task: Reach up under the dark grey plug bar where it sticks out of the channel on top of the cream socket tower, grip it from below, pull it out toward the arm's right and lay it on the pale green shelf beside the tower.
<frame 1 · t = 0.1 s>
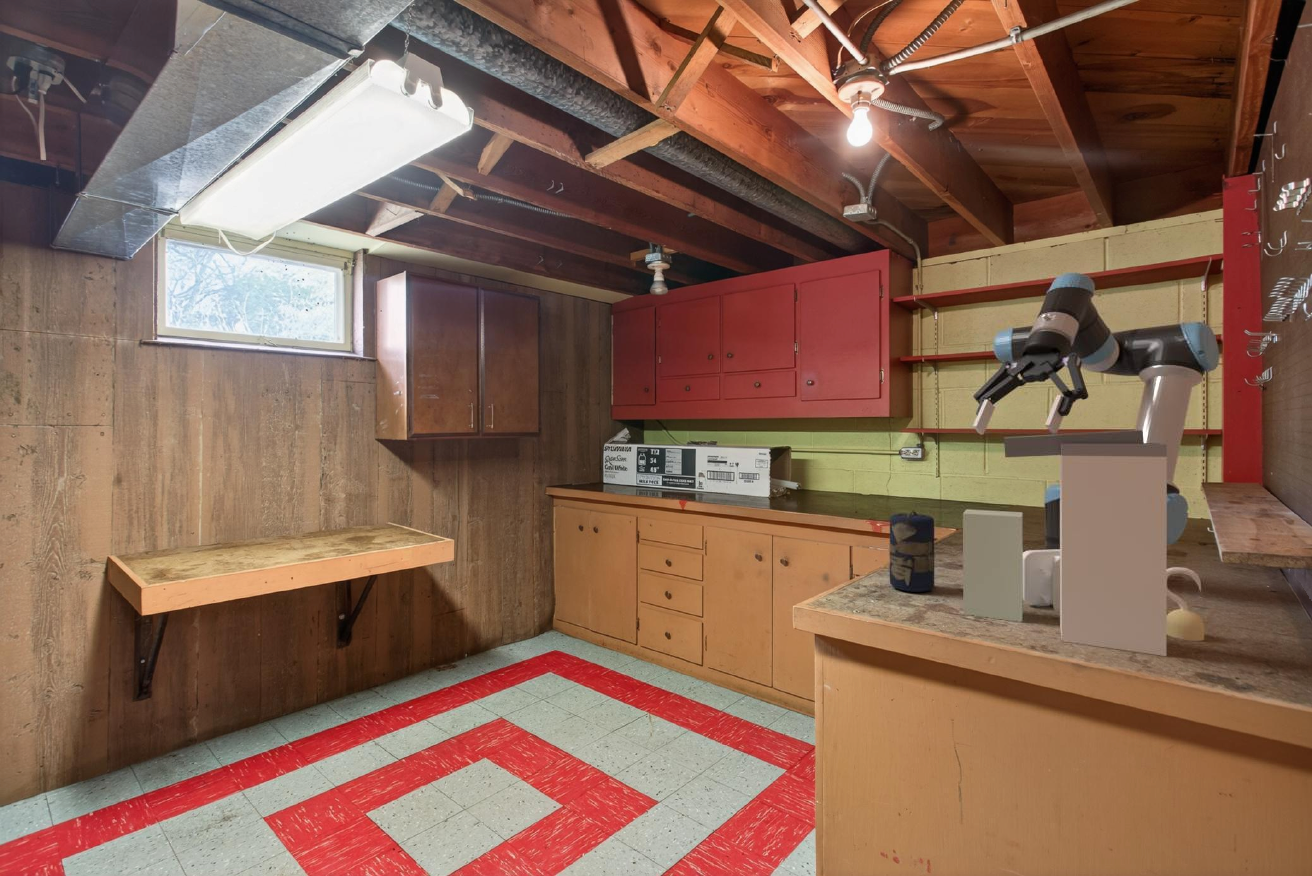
hand: (1012, 430, 114), 36 cm above the table, tool tilted 35°, fingers open, 13 cm apart
canister: (911, 589, 141), on the table
socket tower: (1109, 641, 105), on the table
hook: (1181, 636, 108), on the table
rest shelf: (993, 613, 122), on the table
plug bar: (1070, 453, 108), point 32 cm above the table, touching gripper, socket tower
cable organizer: (1069, 611, 123), on the table
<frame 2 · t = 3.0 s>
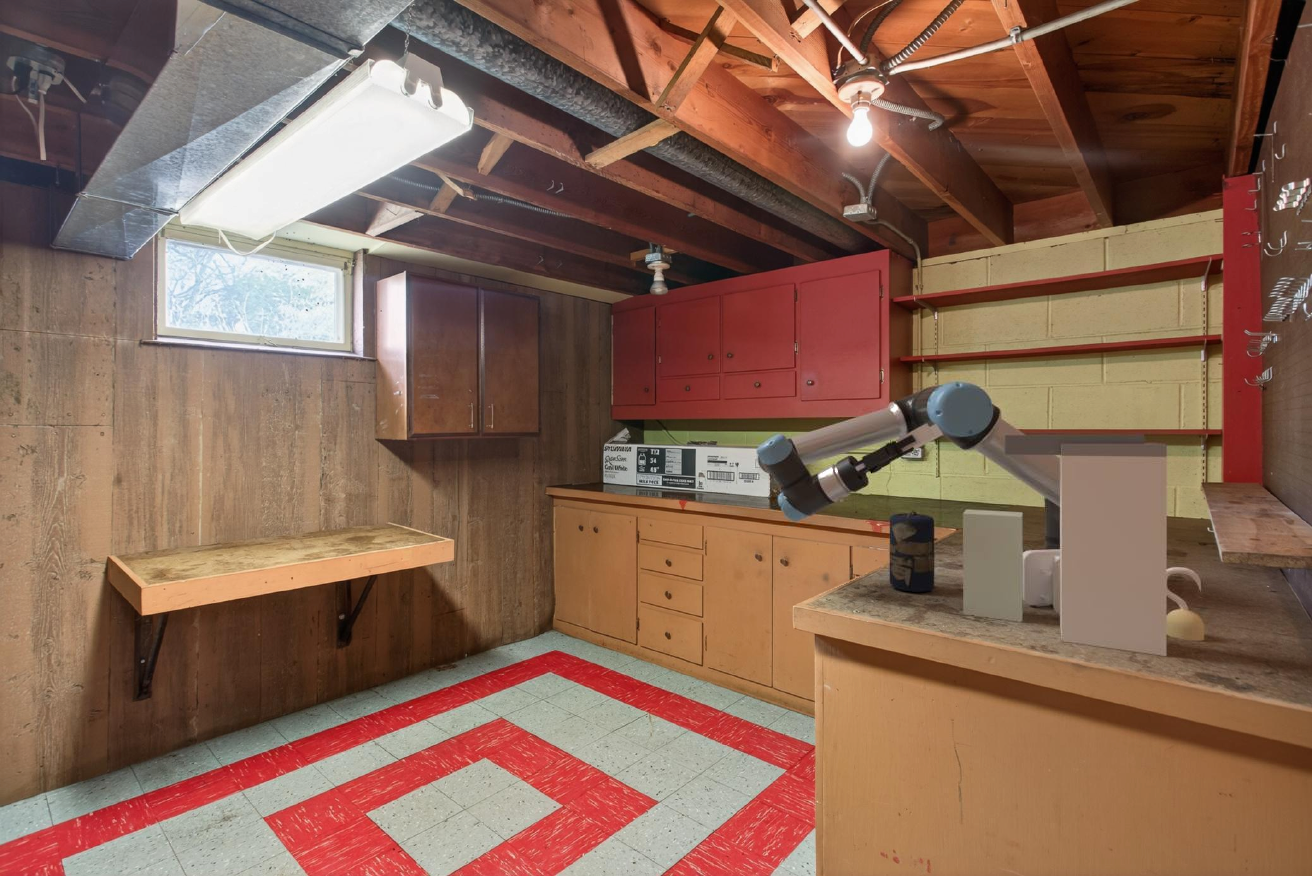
hand: (935, 428, 125), 37 cm above the table, tool pointing upward, fingers open, 13 cm apart
plug bar: (1071, 454, 108), point 32 cm above the table, touching socket tower
everything else where it was.
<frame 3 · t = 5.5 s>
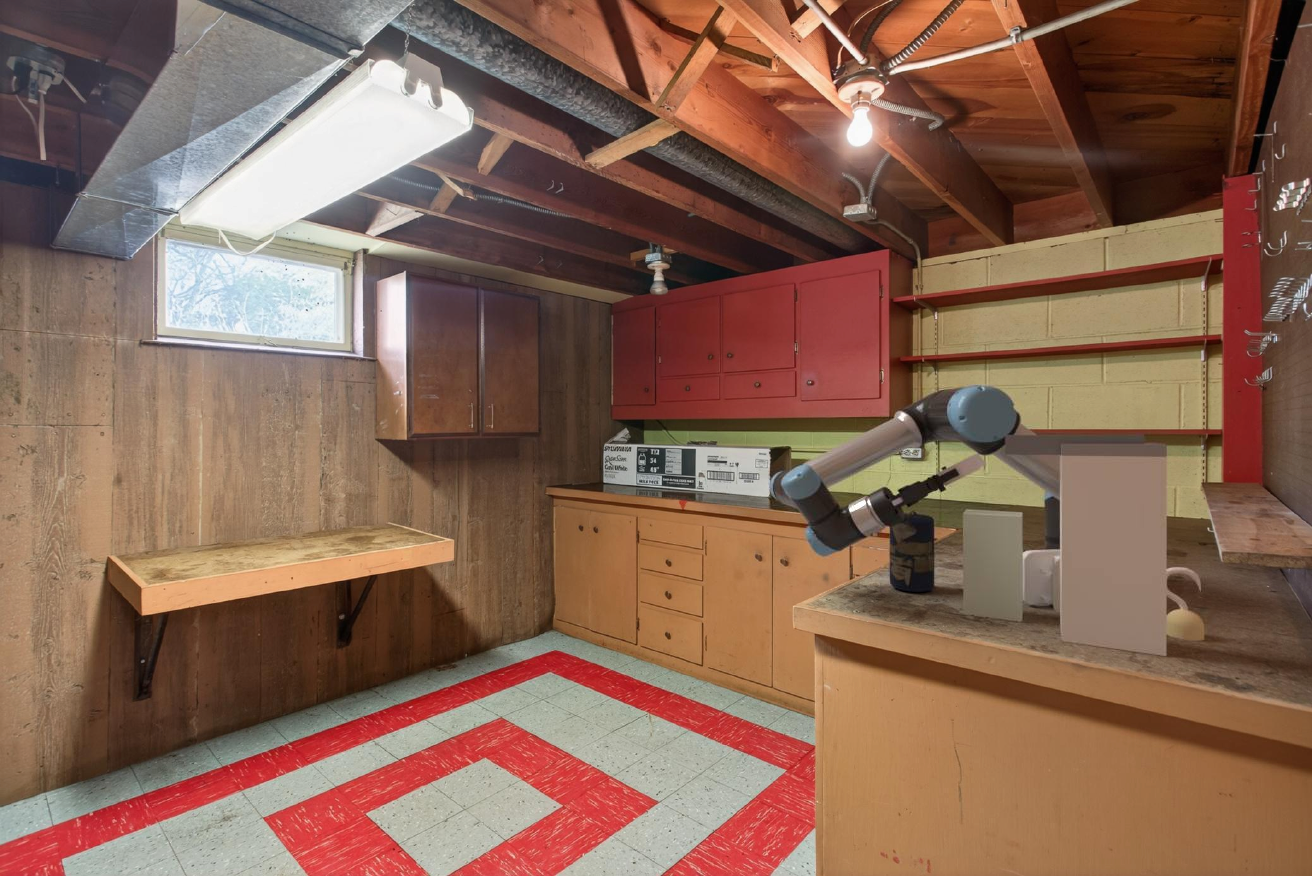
hand: (979, 460, 115), 31 cm above the table, tool pointing upward, fingers open, 13 cm apart
nothing on the table moved.
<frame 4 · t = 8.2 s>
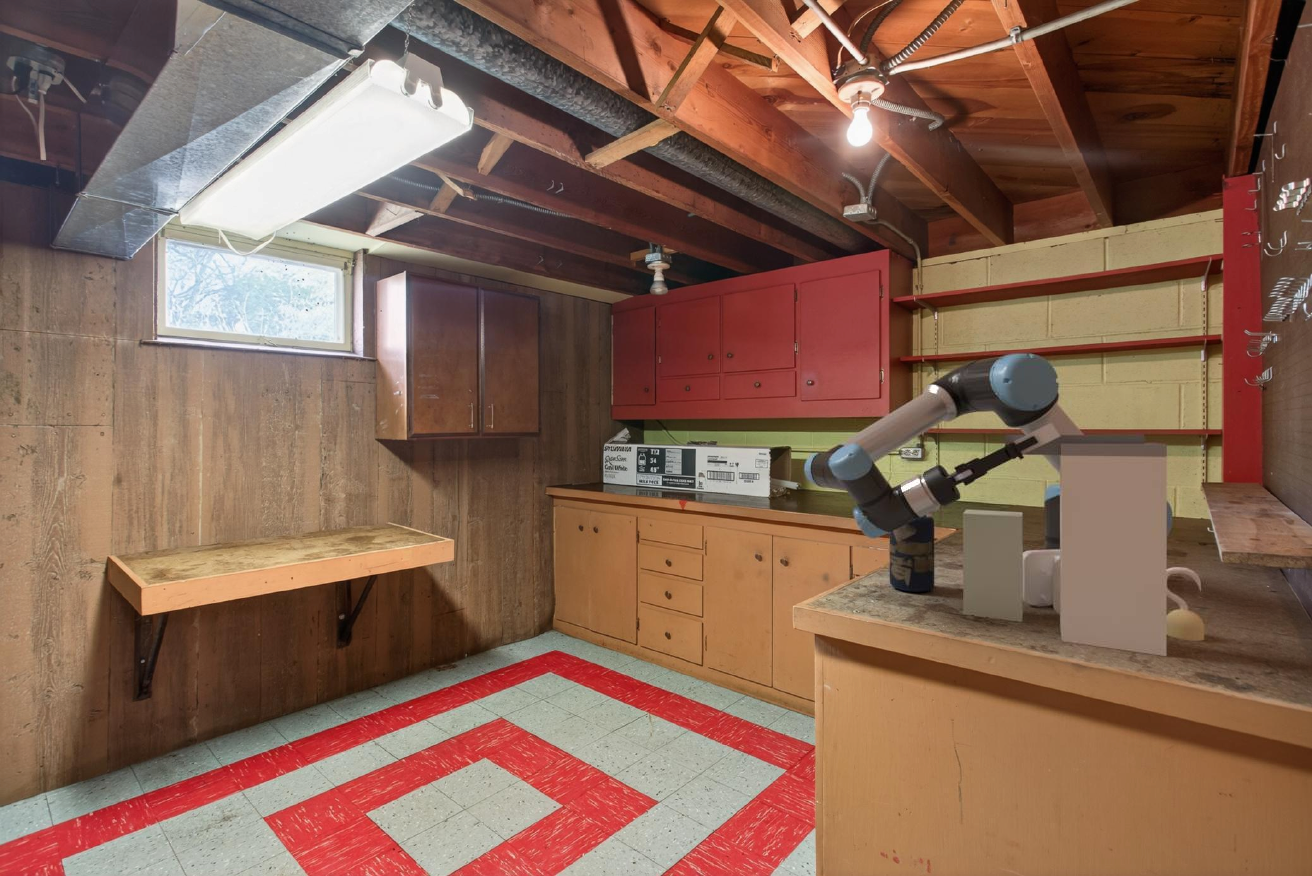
hand: (1055, 429, 109), 36 cm above the table, tool pointing upward, fingers closed on plug bar, 3 cm apart
plug bar: (1071, 454, 108), point 32 cm above the table, touching gripper, socket tower
everything else where it was.
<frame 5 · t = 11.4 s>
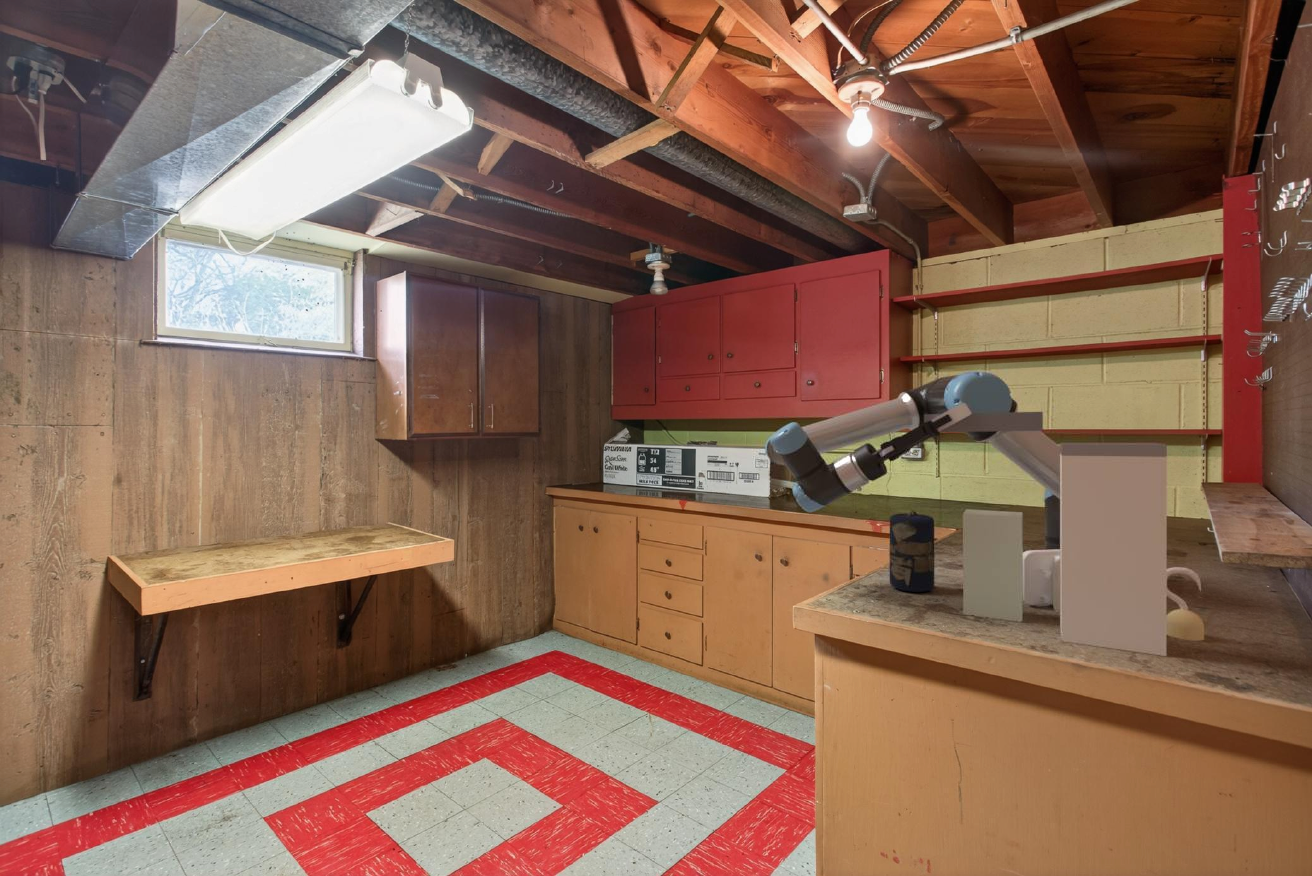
hand: (967, 408, 120), 41 cm above the table, tool pointing upward, fingers closed on plug bar, 3 cm apart
plug bar: (981, 431, 119), point 36 cm above the table, touching gripper
everything else where it was.
when the fingers open (26 cm above the table, at t = 14.8 s): plug bar drops 2 cm, resting on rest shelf.
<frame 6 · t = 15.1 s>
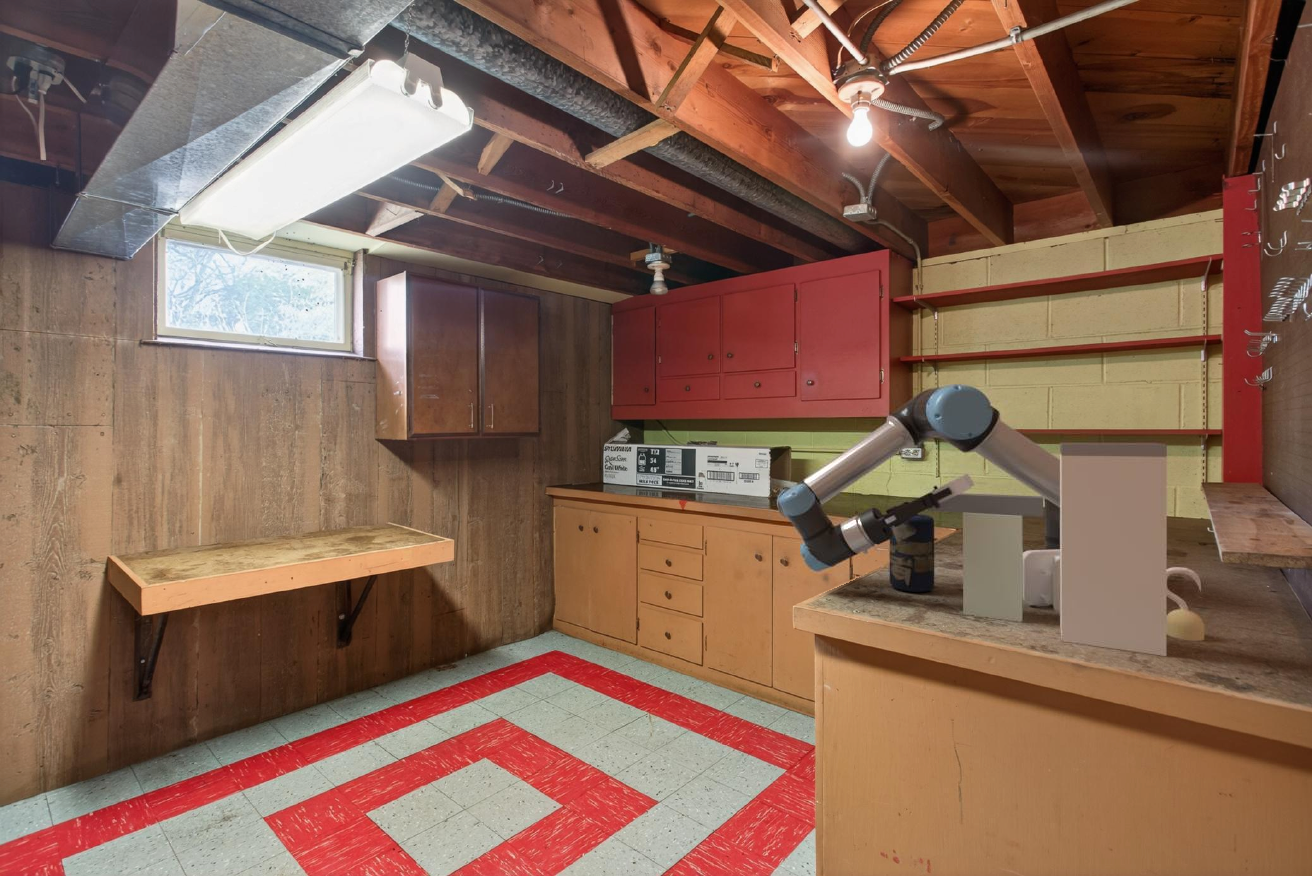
hand: (968, 480, 124), 26 cm above the table, tool pointing upward, fingers open, 7 cm apart
plug bar: (983, 512, 122), point 20 cm above the table, touching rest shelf
everything else where it was.
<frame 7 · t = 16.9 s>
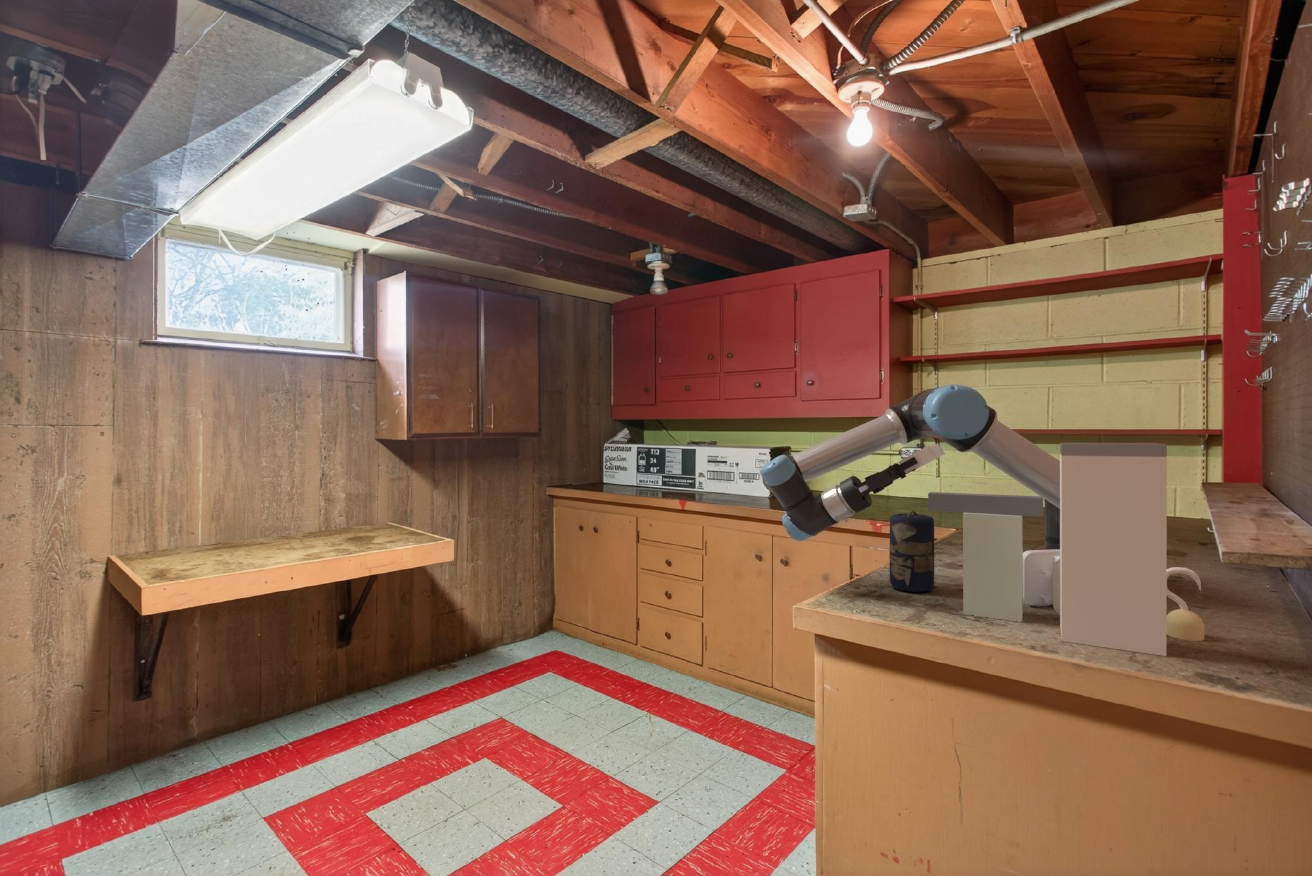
hand: (937, 449, 126), 32 cm above the table, tool pointing upward, fingers open, 13 cm apart
nothing on the table moved.
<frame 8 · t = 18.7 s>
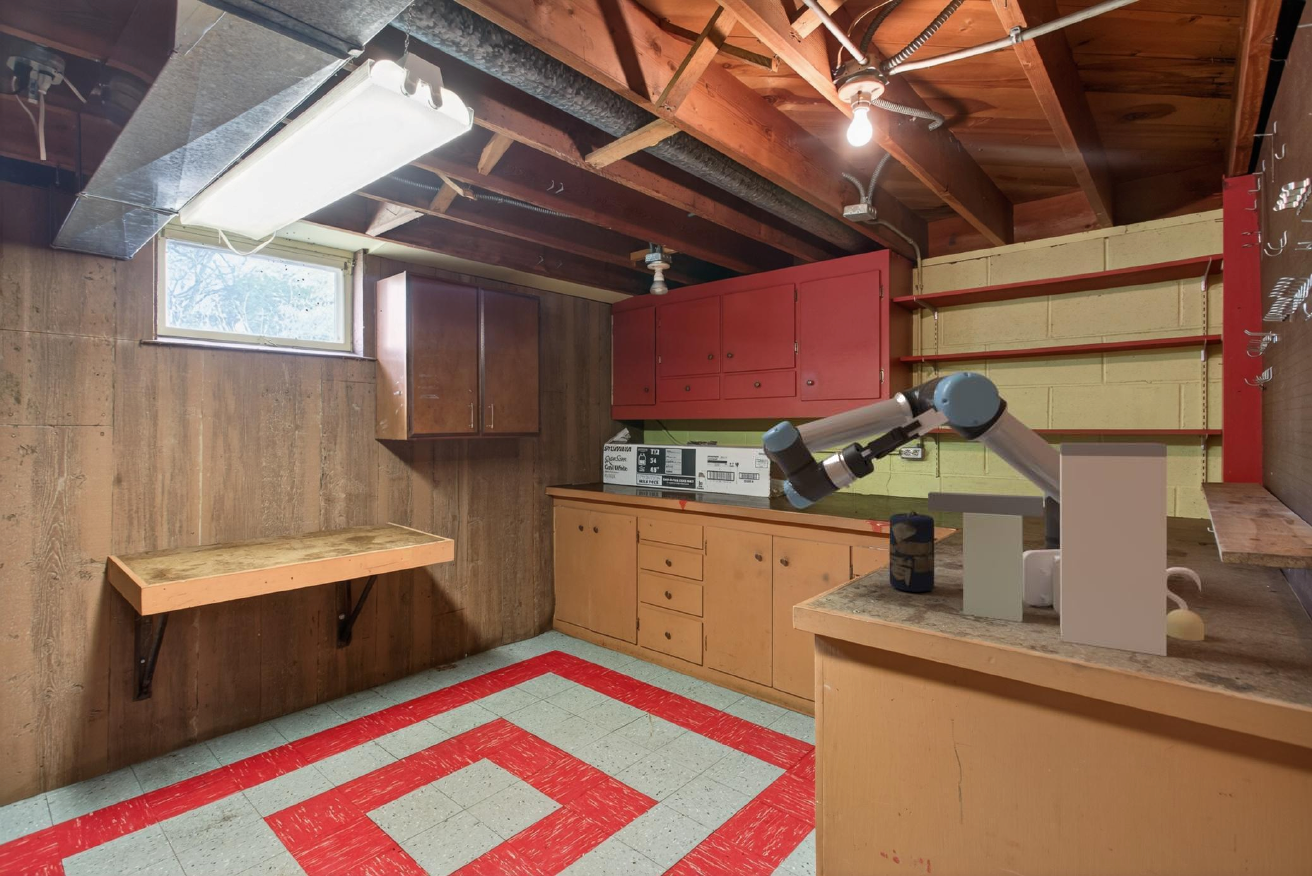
hand: (941, 414, 125), 40 cm above the table, tool pointing upward, fingers open, 13 cm apart
nothing on the table moved.
at the end: plug bar inside the target area on the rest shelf (0.6 cm from its centre), point 20.0 cm above the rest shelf's base; plug bar touching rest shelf; the gripper is holding nothing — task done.
